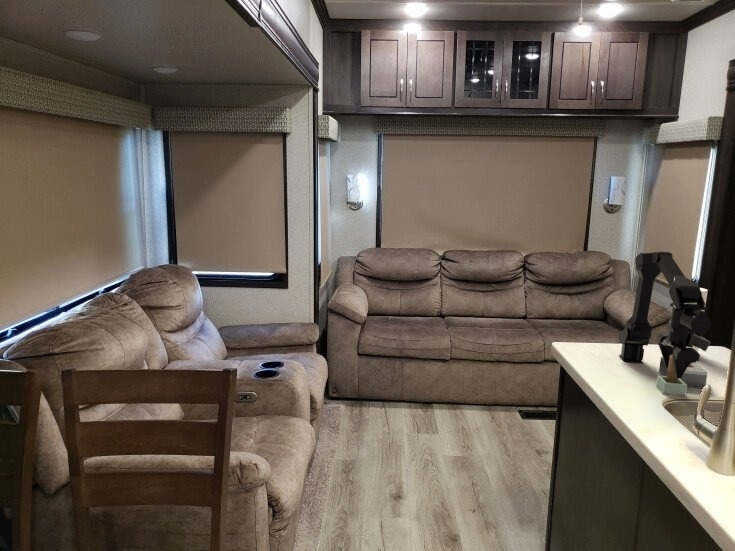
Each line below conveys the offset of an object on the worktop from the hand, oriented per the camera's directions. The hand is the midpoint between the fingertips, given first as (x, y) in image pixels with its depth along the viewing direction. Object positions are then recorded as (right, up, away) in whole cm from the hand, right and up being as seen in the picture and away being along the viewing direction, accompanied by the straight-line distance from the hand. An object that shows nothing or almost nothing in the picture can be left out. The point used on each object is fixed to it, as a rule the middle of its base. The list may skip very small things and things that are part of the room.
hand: (673, 372), depth 175 cm
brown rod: (0, -5, +1) cm, 6 cm away
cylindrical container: (+26, +1, +39) cm, 47 cm away
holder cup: (0, -6, +1) cm, 6 cm away
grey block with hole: (+8, -4, +11) cm, 14 cm away
